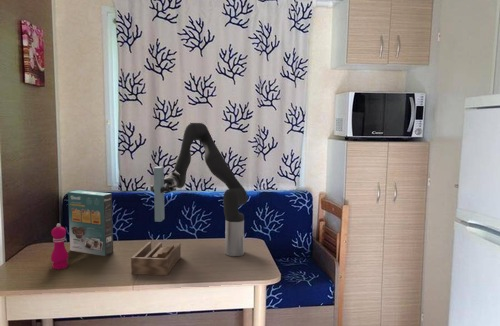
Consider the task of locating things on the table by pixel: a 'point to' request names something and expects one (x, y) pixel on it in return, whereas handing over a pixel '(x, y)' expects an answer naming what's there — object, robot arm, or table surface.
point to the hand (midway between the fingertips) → (157, 190)
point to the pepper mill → (59, 248)
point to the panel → (157, 195)
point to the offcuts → (163, 251)
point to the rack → (154, 260)
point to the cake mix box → (90, 222)
